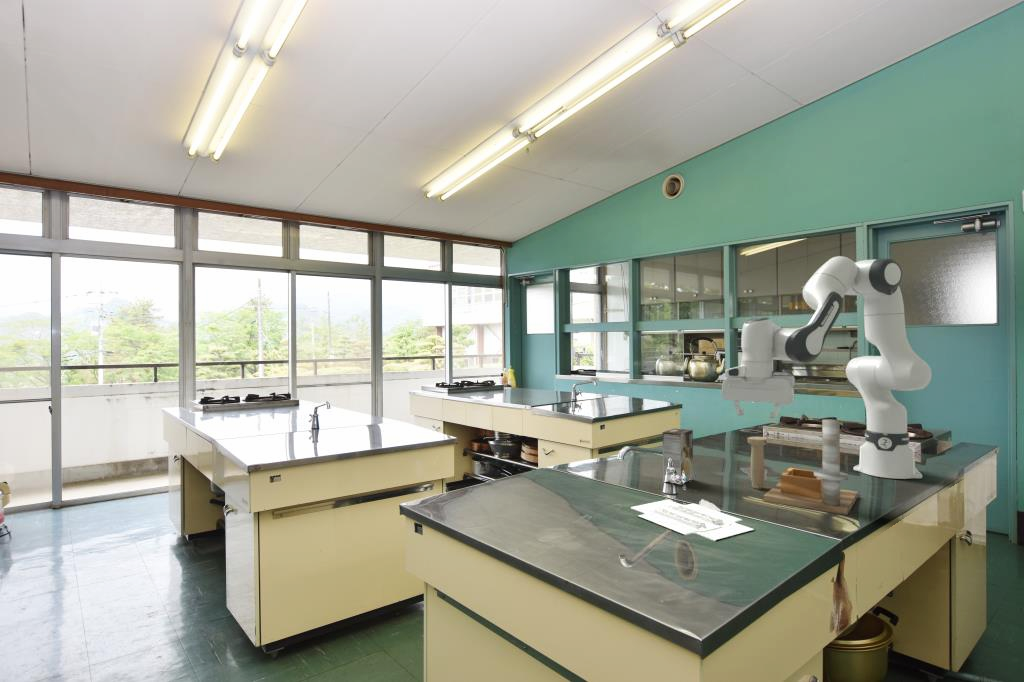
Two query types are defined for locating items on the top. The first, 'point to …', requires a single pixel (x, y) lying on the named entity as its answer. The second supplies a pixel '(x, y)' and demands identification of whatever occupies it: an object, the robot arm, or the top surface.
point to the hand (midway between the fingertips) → (756, 416)
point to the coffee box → (678, 451)
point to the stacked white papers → (692, 519)
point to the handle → (757, 461)
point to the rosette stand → (817, 480)
